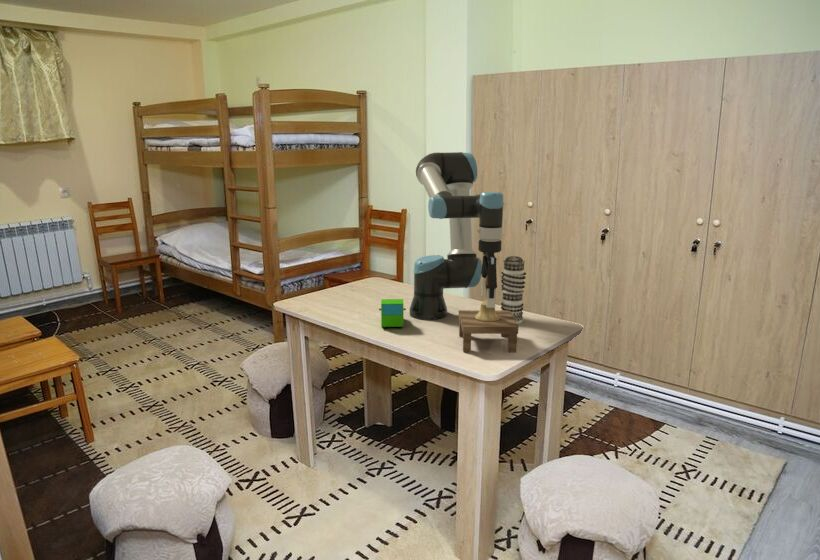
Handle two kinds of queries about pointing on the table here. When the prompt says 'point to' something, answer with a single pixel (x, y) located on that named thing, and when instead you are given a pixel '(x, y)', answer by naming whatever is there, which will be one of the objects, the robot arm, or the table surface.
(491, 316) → the hand bell
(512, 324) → the walnut stool
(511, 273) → the decorative candle
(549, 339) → the table surface
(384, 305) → the toy car
